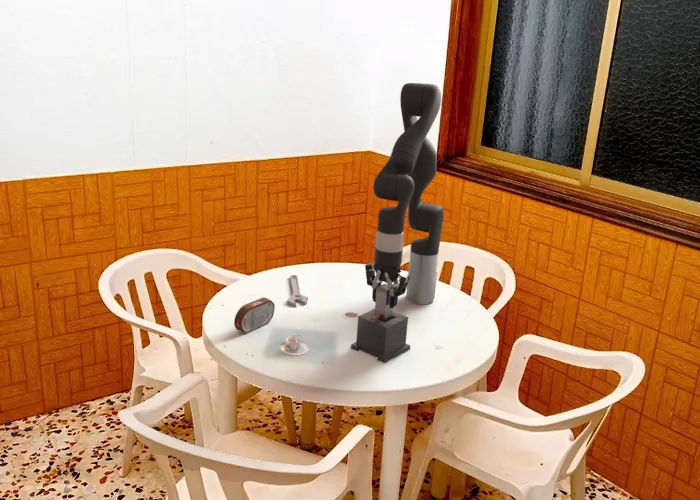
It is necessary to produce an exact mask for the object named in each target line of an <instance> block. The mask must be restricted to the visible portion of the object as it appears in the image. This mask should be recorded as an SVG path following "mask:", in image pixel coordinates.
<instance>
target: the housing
mask: <svg viewBox="0 0 700 500" xmlns="http://www.w3.org/2000/svg"><path fill="white" fill-rule="evenodd" d="M374 314H375V308H374V309H371V310H369V311H366V312H364V313H362V314H360V315H358V316H357V329H356V342H354V343H352V344H351V345H350V348H351V350H354V351H357V352H358V351H361V352H363V353H365V354H368V355H370V356H372V357H375V358H376V359H377V362H380V363H382V364H386V363H388V362H390V361H391V360H393V359H395V358H397V357H398V356H401V355H402V354H404V353H406V352H408V351H410V350H411V345H410V344H408V343H406V342H407V333H408V325H409V324H408V323H409V317H408V316H406V315H403V314H401V313H398V312H396V311H393V314H392V320H390V321H388V322H382V321H380V320H379V316H377V315H374Z"/></svg>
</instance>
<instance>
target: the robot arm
mask: <svg viewBox="0 0 700 500" xmlns="http://www.w3.org/2000/svg"><path fill="white" fill-rule="evenodd" d="M399 96H400V97H399V99H400V101H399V102H400V109H401V110H400V111H401V117H402V123H403V124H402V125H403V132H402V133H401V134H400V136H398V138H397V139H396V141H395V142H394V145H393V147H392V150H391V153H390V157H389V159H388V160H387V162H386V163H385V165H384V166H383V168H382V169H381V170H380V171H379V172H378V174H377V175H376V177H375V179H374V182H373V193H374V195H375V196H376V198H378V199H380V200H385V201H393V202H397V205H396V206H391V207H390V206H388V207H383V208H381V209H380V210H379V211H378V220H377V230H376V231H377V232H376V236H375V244H374V245H375V247H374V256H373V261H374V263H373V262H370V263H367V264H365V266H364V268H365V276H366V277H365V278H366V279H365V280H366V284H367V285H368V286H370V287H371V289H372V292H371V293H372V295H371V297H372V301H373V302H374V303H375V301H376V288H377V286H380V285H382V283H383V282H384V283H385V284H387V285H388V288H389V289H390V293H391V296H390V304H389V307H390V308H393V309H395V308H396V307H397V306H398V305H399V302H398V300H399V297H400V296H402V295H405V294H406V295H405V298H406V300H407V301H408V302H409V303H412V304H416V305H429V304H431V303H433V302H434V299H435V297H436V296H435V295H436V286H437V280H438V279H437V277H438V271H437V268H438V259H439V251H440V244H441V240H442V239H441V237H442V233H443V232H442V230H443V225H444V220H445V219H444V216H445V211H444V208H443V207H442V206H441V205H437V204H432V203H426V202H423V201H422V195H423V193H424V191H425V190H426V189H427V187H428V186H430V184H431V183H432V181H433V180H434V178H435V176H436V174H437V173H438V172H437V170H438V166H437V165H438V164H437V163H438V162H437V161H438V160H437V151H436V149H435V147H434V145H433V143H432V141H431V140H430V139H429V138H428V136H427V135H428V134H429V132H430V130H431V128H432V126H433V125H434V124H433V123H434V122H435V120H436V118H437V115H438V113H439V111H440V109H441V104H442V91H441V88H440V86H439V85H437V84H433V83H418V82H416V83H415V82H407V83H404V85H402V87H401V91H400V95H399ZM418 117H419V118H418ZM407 210H408V212H407ZM407 213H408V215H407V216H408V217H407V218H408V225H409V227H410V229H412V230H415V231H416V232H417V231H418V232H421V233H428V236H427V237H425V238H417V239H415V240H412V242H411V243H410V249H409V250H410V251H409V260H408V272H407V273H408V274H403V273H402V270H401V266H402V262H403V253H404V252H403V251H404V243H405V242H404V241H405V239H404V238H405V237H404V230H405V229H404V228H405V219H406V214H407Z"/></svg>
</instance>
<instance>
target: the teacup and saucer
mask: <svg viewBox="0 0 700 500" xmlns="http://www.w3.org/2000/svg"><path fill="white" fill-rule="evenodd" d="M301 339H302V337H301V335H299V334H291V335H289V336H286V337H284V339H283V344H281V345H280V346H279V350H280V351H281V352H282V353H283V354H285V355H289V356H302V355H305V354H306V353H308V351H310V350H309V346H308V345H307V344H305V343H303V342H301V341H302V340H301ZM287 346H289V347H290V349H291V351H298V350H299V349H300V347H303V351H301V352H298V353H297V352H296V353H294V352H293V353H291V352H289V351H286V349H285V348H286V347H287Z"/></svg>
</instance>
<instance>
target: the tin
mask: <svg viewBox="0 0 700 500" xmlns="http://www.w3.org/2000/svg"><path fill="white" fill-rule="evenodd" d="M275 307H276V306H275V302H273V300H270V299H268V298H267V297H260V298H258V299H256V300H253V301H250V302H248V303H246V304H244V305H242V306H240V308H239V309H238V311H237V312H236V314H235V316H234V322H233V323H234V327H235V329H236V331H239V332H242V333H243V334H248V333H252V332H253V331H256V330H257V329H259V328H261V327H264V326H266V325H268V324H269V323H270V321H271V320H272V319H273V317H274V314H275Z"/></svg>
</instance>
